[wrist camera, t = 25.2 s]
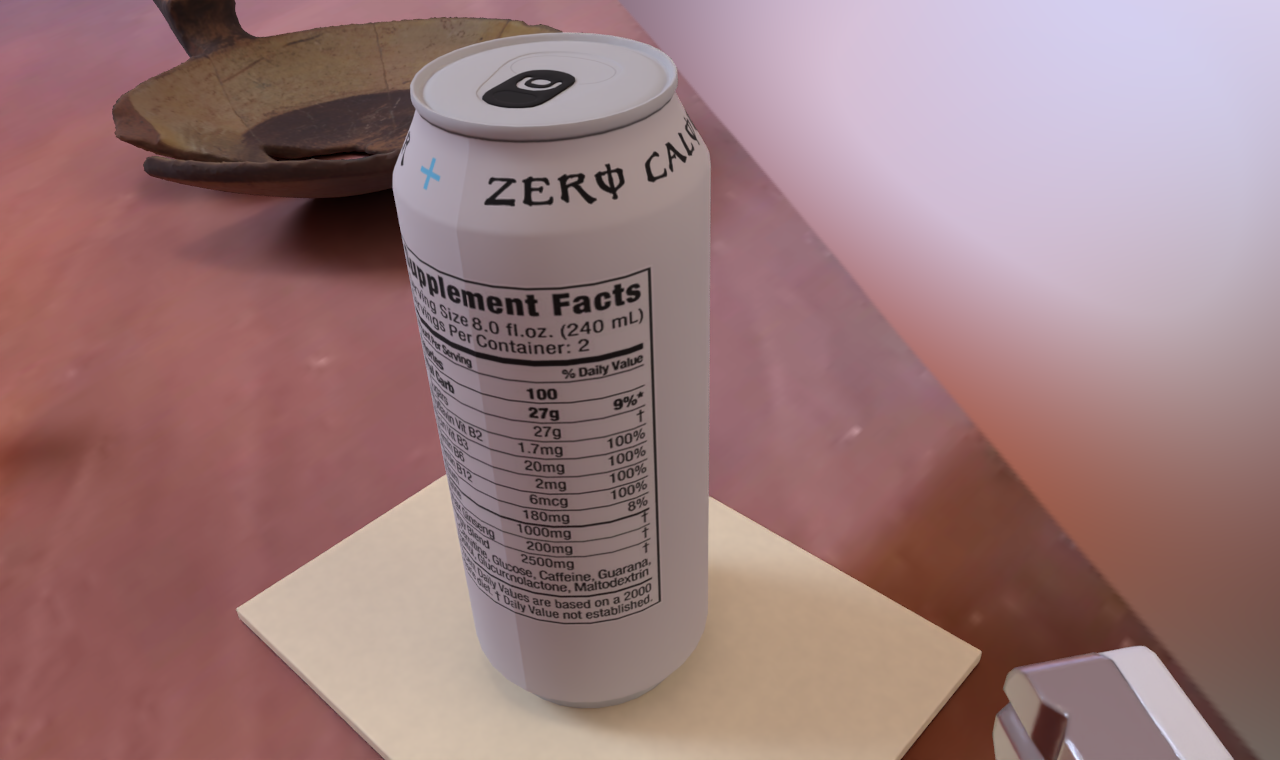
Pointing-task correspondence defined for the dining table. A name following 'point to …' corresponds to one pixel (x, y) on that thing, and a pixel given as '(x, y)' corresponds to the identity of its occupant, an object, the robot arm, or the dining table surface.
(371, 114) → the olive ceramic shallow bowl
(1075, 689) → the robot arm
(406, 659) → the beige rectangular board
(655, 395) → the energy drink can
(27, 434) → the dining table surface
